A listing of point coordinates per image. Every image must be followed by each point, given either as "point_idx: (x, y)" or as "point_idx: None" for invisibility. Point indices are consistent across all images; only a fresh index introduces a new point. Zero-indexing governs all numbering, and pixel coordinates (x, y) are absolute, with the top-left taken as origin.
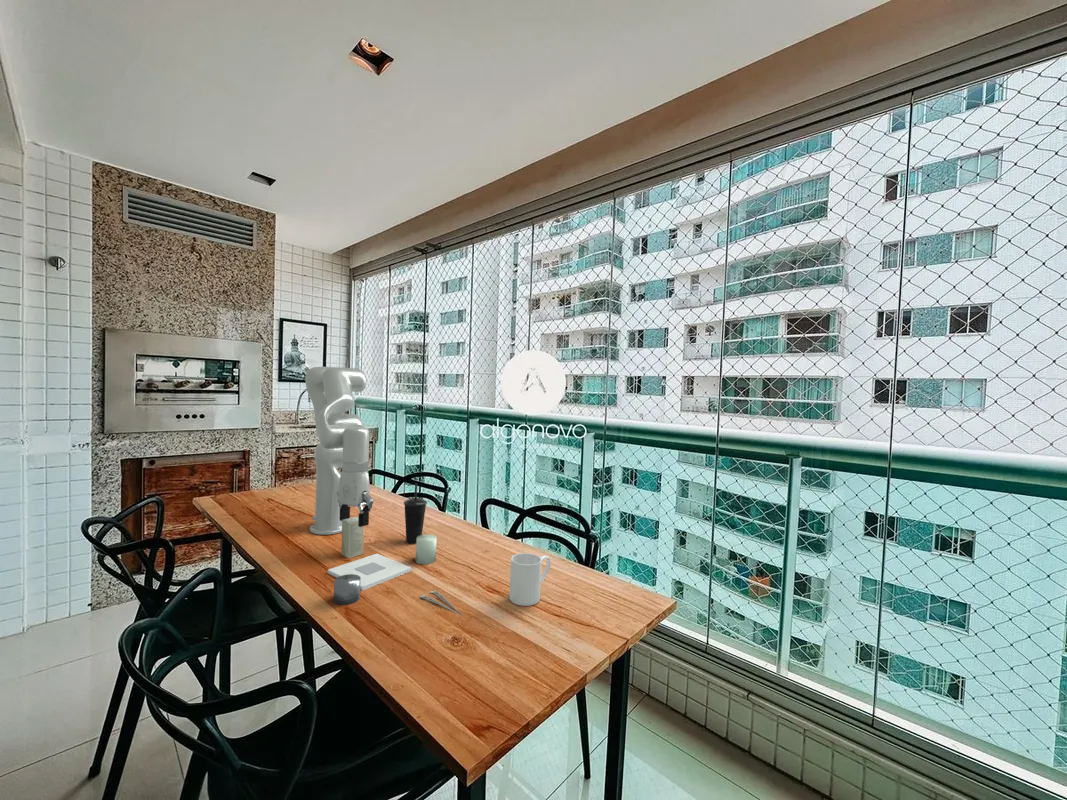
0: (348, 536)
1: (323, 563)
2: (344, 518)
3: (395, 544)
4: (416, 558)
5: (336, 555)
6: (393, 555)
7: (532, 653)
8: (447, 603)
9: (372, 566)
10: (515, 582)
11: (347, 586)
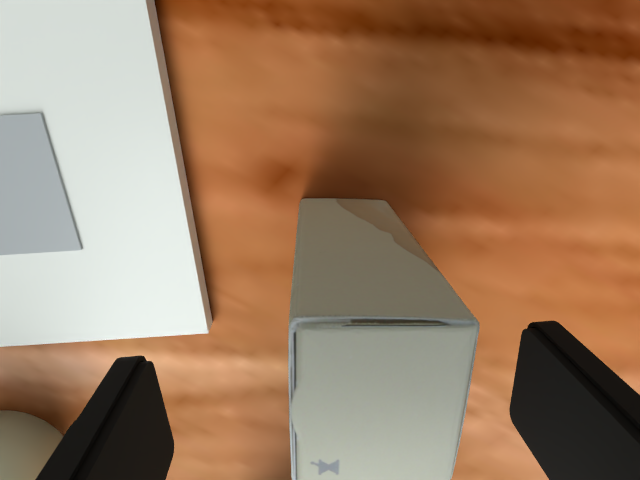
0: (298, 251)
1: (333, 39)
2: (528, 374)
3: None
4: (4, 427)
5: (396, 172)
6: (174, 384)
7: None
8: None
9: (14, 213)
10: None
11: None
